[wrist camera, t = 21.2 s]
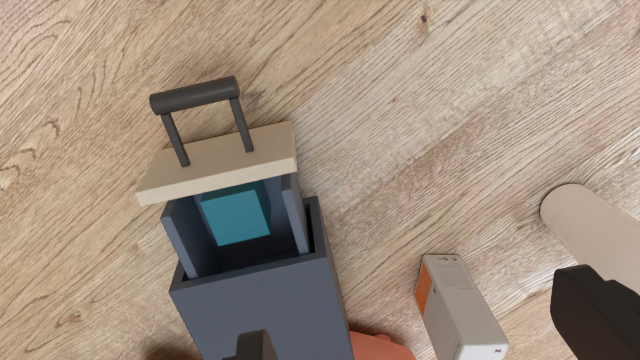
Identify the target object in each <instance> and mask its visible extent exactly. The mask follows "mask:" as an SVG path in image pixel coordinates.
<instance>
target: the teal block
mask: <svg viewBox="0 0 640 360" xmlns="http://www.w3.org/2000/svg"><path fill="white" fill-rule="evenodd" d="M200 204H201V207H202V209H203V211H204V214H205V216H206V218H207V221H208V223H209V225H210V228H211V230H212V232H213V235H214V237H215V239H216V242H217V244H218V246H222V245H226V244H231V243H235V242H239V241H244V240H248V239H252V238H256V237H261V236H265V235H269V234H270V227H271V203H270V200H269V197H268V194H267V191H266V188H265V185H264V182H263V179H261V180H257V181H252V182H248V183H244V184H239V185H235V186H230V187H226V188H221V189H217V190H213V191H208V192H204V193H203V194H202V197H201V200H200Z"/></svg>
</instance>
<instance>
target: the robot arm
mask: <svg viewBox="0 0 640 360" xmlns="http://www.w3.org/2000/svg"><path fill="white" fill-rule="evenodd" d="M550 313H551V317H552V320H553V323H554V325H555V327H556V329H557V331H558V332H559V333H560V335H561V336H562V338H563V339H564V340H565V342H566V343H567V345H568V346H569V347H570V349H571V350H572V352H573V353H574V354H575V356H576V357H577V359H578V360H640V295H639V294H638V293H637V292H635V291H633V290H632V289H630V288H628V287H626V286H625V285H623V284H621V283H619V282H618V281H616V280H614V279H612V280H608V281H605V280H604V279H603V278H602V277H601V276H600V275H599V274H598V273H597V272H596V271H595V270H594V269H593V268H592V267H591V266H589V265H587V264H581V265H576V266H572V267H567V268H562V269H557V270H556V271H555V273H554V278H553V286H552V295H551V304H550ZM222 360H278V357H277V354H276V352H275V349H274V347H273V344H272V341H271V339H270V336H269V334H268V331H267V330H266V329H261V330H256V331H251V332H246V333H241V334H239V335H238V339H237V347H236V356H231V357H226V358H222Z"/></svg>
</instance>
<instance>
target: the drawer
mask: <svg viewBox="0 0 640 360" xmlns="http://www.w3.org/2000/svg"><path fill="white" fill-rule="evenodd" d="M239 96H240V90H239V86H238V83H237V80H236V78H235V76H229V77H224V78H220V79H216V80H211V81H207V82H203V83H198V84H194V85H190V86H185V87H181V88H177V89H172V90H168V91H164V92H160V93H155V94H151V95H150V97H149V101H150V105H151V108H152V110H153V112H154V113H155V114H156V115H161V119H162V121H163V123H164V126H165V128H166V131H167V133H168V135H169V138H170V140H171V143H172V145H173V147H171V148H166V149H162V150H159V152H158V154H157V155H156V157H155V159H154V160H153V162H152V164H151V165H150V167H149V169H148V170H147V172H146V174H145V175H144V177H143V179H142V180H141V182H140V184H139V186H138V187H137V189H136V191H135V192H134V194H135V196H136V198H137V200H138V202H139V204H140V206H141V207H142V206H146V205H151V204H155V203H160V202H164V201H168V202H167V204H166V206H165V209H164V211H163V213H162V215H161V218H160V219H161V222H162V224H163V226H164V228H165V230H166V232H167V234H168V236H169V238H170V240H171V242H172V245H173V247H174V249H175V251H176V253H177V255H178V257H179V259H180V261H181V263H182V265H183V267H184V270H185V272H186V274H187V276H188V278H189V280H194V279H198V278H203V277H207V276H212V275H216V274H221V273H225V272H230V271H234V270H239V269H243V268H248V267H252V266H257V265H261V264H266V263H270V262H275V261H280V260H284V259H289V258H293V257H298V256H302V255H307V254H311V253H315V246H314V241H313V237H312V233H311V230H310V226H309V222H308V219H307V215H306V211H305V207H304V204H303V200H302V196H301V193H300V189H299V185H298V181H297V178H296V174H295V172H297V171H298V170H297V159H296V147H295V136H294V130H293V126H292V122H291V120H289V121H284V122H280V123H275V124H271V125H267V126H262V127H258V128H254V129H249V130H248V127H247V124H246V121H245V118H244V115H243V111H242V108H241V105H240V102H239V99H238V97H239ZM227 99H229V102H230V105H231V108H232V111H233V114H234V117H235V120H236V123H237V126H238V129H239V132H236V133H232V134H227V135H223V136H219V137H214V138H210V139H206V140H201V141H197V142H192V143H188V144H184V145H183V143H182V140H181V138H180V135H179V133H178V131H177V128H176V126H175V123H174V121H173V118H172V116H171V112H175V111H180V110H184V109H188V108H193V107H197V106H201V105H206V104H210V103H214V102H219V101H223V100H227ZM261 179H263V182H264V185H265V188H266V191H267V194H268V197H269V200H270V203H271V227H270V234H269V235H265V236H261V237H256V238H252V239H248V240H244V241H239V242H235V243H231V244H226V245H222V246H218V244H217V242H216V239H215V237H214V235H213V232H212V230H211V228H210V225H209V223H208V221H207V218H206V216H205V214H204V211H203V209H202V207H201V204H200V200H201V197H202V194H203V193H204V192H208V191H213V190H217V189H221V188H226V187H230V186H235V185H239V184H244V183H248V182H252V181H257V180H261Z"/></svg>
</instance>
